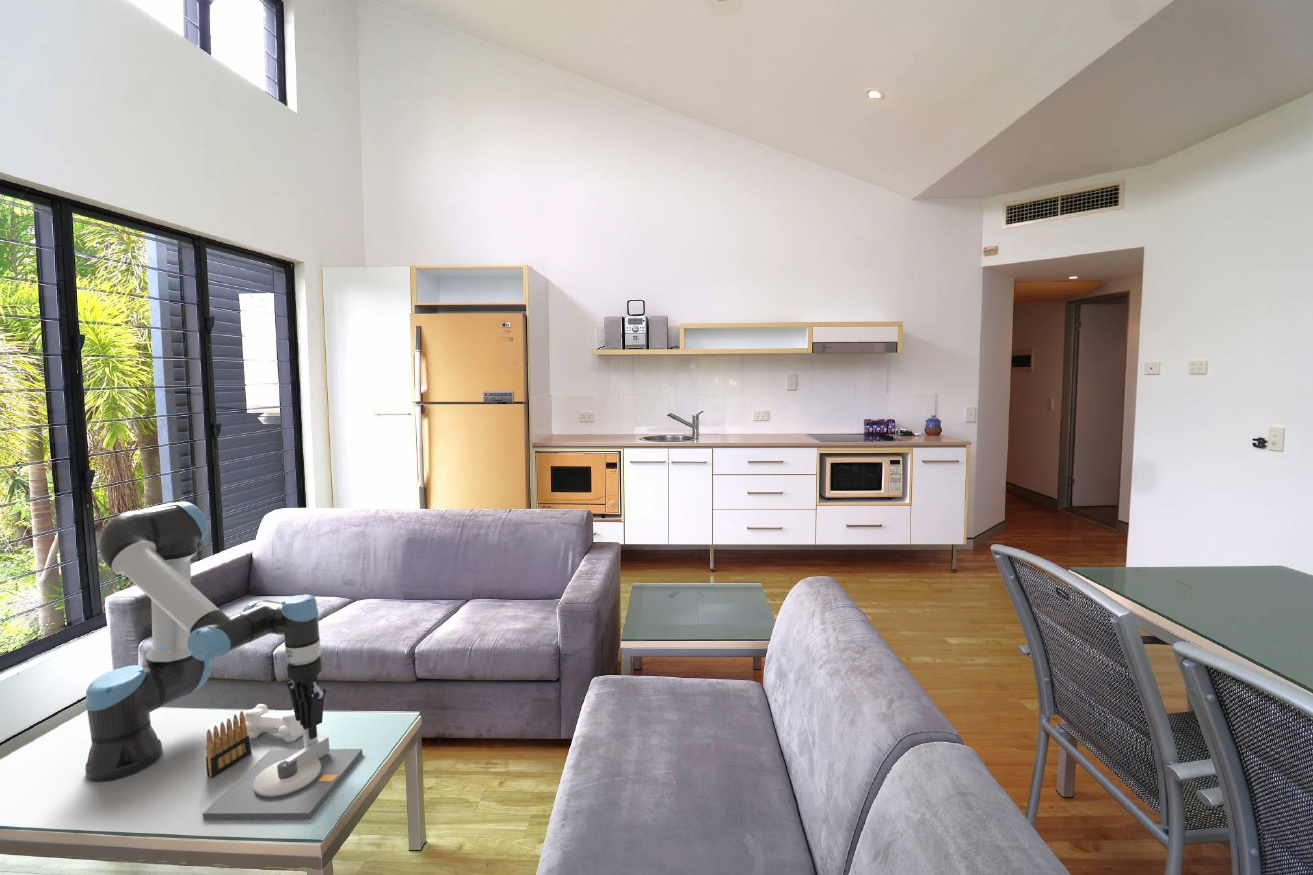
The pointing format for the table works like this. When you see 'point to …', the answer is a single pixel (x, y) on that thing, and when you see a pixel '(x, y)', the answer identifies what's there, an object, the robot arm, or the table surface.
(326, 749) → the dial
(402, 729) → the table surface
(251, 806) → the dial base
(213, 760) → the ammunition clip
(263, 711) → the white bone
